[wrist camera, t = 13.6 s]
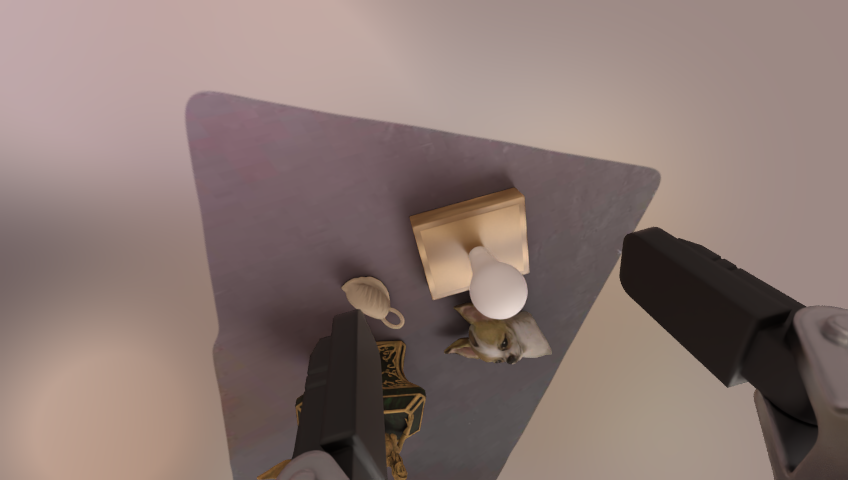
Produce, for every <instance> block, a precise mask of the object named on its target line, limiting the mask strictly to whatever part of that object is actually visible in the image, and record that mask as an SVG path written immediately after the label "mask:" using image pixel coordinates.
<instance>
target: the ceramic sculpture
mask: <svg viewBox="0 0 848 480" xmlns="http://www.w3.org/2000/svg"><path fill="white" fill-rule="evenodd" d="M454 309H455V310H457V311H458V312H459V313H460V315H461V316H462V317H463V318H464V319H465V320H466V321H467V322H468V323H470V324H471V326H470V328H469V338H460V339H458V340H457V341H455V342H454V343H452V344H451V345H450V346H449V347H448V348H447V349H445V351H444V353H445V354H450V353H456V354H459V355H464V356H465V357H468V358H476V359H479V358H480V359H482V360H483V361H485V362H494V363H500V362H507V363H508V364H515V363H517V361H519V360H520V359H521V358H522V357H527V358H530V357H531V358H537V357H540V356H543V355H550V354H552V351H551V348H550V346H549V344H548V342H547V340H546V338H545V337H544V335H543V333H542V332H541V331H540V329H539V327H538V326H537V324H536V322H535V320H534V318H533V317H532V315H531V314H530V313H528V312H526V311H521V312H519V313H518V314H517V315H514V316H512V317H510V318H507V319H492V318H489V317H487V316H485V315H483V314H482V313H480V312H479V311H478V310H477V309H476V307H475V306H474V304H473V303H464V304H461V305H457V306H454Z"/></svg>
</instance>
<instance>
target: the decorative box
mask: <svg viewBox="0 0 848 480" xmlns="http://www.w3.org/2000/svg"><path fill="white" fill-rule="evenodd" d="M376 344H377V347H378V350H379V354H380V360H381V372H382V390H383V408H384V425H385V443H386V461H387V467H388V466H389V467H391V469H392V475H393V477H394V479H395V480H406V479H407V472H406V469H405V467H404V465H403V460H402V458H401V456H400V455H399V453H400V451H401V449H402V446H403V443H404V441H405V439H406V438H408V437H410V436H411V435H413V434H415V433H416V432H418V431H419V430H420V427H421V421H422V416H423V410H424V405H425V399H426V393H425V390H424V389H423V388H421V387H420V386H417V385H415V384H413V383H411V382H409V381H408V380H407V379H406V377H405V375H404V372H403V366H404V357H405V349H406V344H405V343H403V342H402V341H383V342H376ZM303 395H304V394H303ZM303 395H302V396H300V397H299V398H297V400H296V405H295V407H296V415H297V423H298V424H299V419H300V413H301V407H302V401H303ZM397 442H398V444H397ZM289 462H291V459H289V460H285V461H283V462H281V463H279V464H277V465H276V466H274V467H272V468H271V469H270V470H268V471H266V472H265V473H263V474H261V475H260V476H258V477H257V479H270V478H274V479H276V478H277V476H278V475H279V474H280V472H281V471H282V470H283V469H284V467H285V466H286V465H287V464H288V463H289Z"/></svg>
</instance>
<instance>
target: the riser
mask: <svg viewBox="0 0 848 480" xmlns="http://www.w3.org/2000/svg"><path fill="white" fill-rule="evenodd" d="M409 218H410V221H411V225H412V229H413V232H414V236H415V239H416V243H417V246H418V250H419V254H420V257H421V261H422V264H423V268H424V271H425V275H426V278H427V282H428V286H429V289H430V293H431V296H432V300H435V299H439V298H443V297H446V296H450V295H453V294H457V293H460V292H464V291H467V290H470V288H469V287H470V283H471V279H472V276H473V272H472V269H471V262H470V259H469V253H470V251H471V250H472V249H473V248H475V247H478V246H482V247H484V248H486V249H487V250H488V252H489V253H490V254H491V255H493V256H494V257H495V258H496V260H497V261H499V262H503V263H506V264H509V265H511V266H513V267H514V268H516V269H517V270H518V271H519V272H520V273H521V274H522V275H524V274H527V273H529V259H528V244H527V229H526V214H525V198H524V195H523V194H521V193H520V192H519V191H518V190H517V189H516V188H515V187H514V188H510V189H507V190H503V191H499V192H496V193H492V194H489V195H485V196H481V197H478V198H474V199H471V200H467V201H463V202H460V203H456V204H452V205H449V206H445V207H442V208H438V209H434V210H431V211H427V212H424V213H420V214H416V215H413V216H410V217H409Z"/></svg>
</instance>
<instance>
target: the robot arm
mask: <svg viewBox="0 0 848 480" xmlns="http://www.w3.org/2000/svg"><path fill="white" fill-rule="evenodd" d="M620 281H621V284H622V286H623V288H624V290H625V292H626V293H627V294H628V295H629V296H630V297H631V298H632V299H633V300H634V301H635V302H636V303H638V304H639V305H640V306H641V307H642V308H643V309H644V310H645V311H646V312H647V313H648V314H649V315H650V316H652V317H653V318H654V319H655V320H656V321H657V322H658V323H659V324H660V325H661V326H662V327H663V328H664V329H665V330H666V331H667V332H669V333H670V334H671V335H672V336H673V337H674V338H675V339H676V340H677V341H678V342H679V343H680V344H681V345H682V346H683V347H685V348H686V349H687V350H688V351H689V352H690V353H691V354H692V355H693V356H694V357H695V358H696V359H697V360H698V361H700V362H701V363H702V364H703V365H704V366H705V367H706V368H707V369H708V370H709V371H710V372H711V373H712V374H714V375H715V376H716V377H717V378H718V379H719V380H720V381H721V382H722V383H723V384H724V385H725V386H726V387H727V388H728V387H731V386H735V385H738V384H742V383H745V382H749V383H751V384H752V385H753V386H754V387H755V388H756V390H755V392H754V402H755V405H756V409H757V412H758V417H759V421H760V425H761V428H762V432H763V436H764V440H765V443H766V447H767V451H768V455H769V459H770V462H771V466H772V470H773V475H774V480H848V310H847V309H843V308H838V307H832V306H809V307H806V306H804V305H803V304H801V303H799V302H797V301H796V300H794V299H792V298H791V297H789V296H787V295H785V294H784V293H782V292H780V291H779V290H777V289H775V288H773V287H772V286H770V285H768V284H767V283H765V282H763V281H762V280H760V279H758V278H756V277H755V276H753V275H751V274H749V273H748V272H746V271H744V270H743V269H741V268H740V269H738V268H737V267H736V265H734V264H733V263H731V262H729V261H727V260H726V259H721V256H719V255H717V254H715V253H714V252H712V251H710V250H709V249H707V248H705V247H704V246H702V245H699V244H695V243H693V242H690V241H686V240H683V239H680V238H678V239H677V238H675V237H674V236H672V235H670V234H669V233H667V232H665V231H664V230H662V229H660V228H658V227H651V228H647V229H644V230H640V231H637V232H633V233H630V234H627V235H626V236H625V238H624V241H623V249H622V257H621V267H620ZM307 373H308V376H307V378H306V384H305V392H304V395H303V401H302V407H301V413H300V419H299V424H298V430H297V436H296V442H295V448H294V452H293V457H292V459H291V462H289V463H288V464H287V465H286V466H285V467H284V469H283V470H282V471H281V472H280V474H279V475H278V476H277V478H276V480H388V479H387V461H386V443H385V425H384V408H383V390H382V372H381V360H380V354H379V350H378V347H377V344H376V341H375V339H374V337H373V335H372V332H371V330H370V328H369V326H368V323H367V321H366V319H365V317H364V314H363V312H362V311H361V309H357V310H353V311H350V312H346V313H343V314H339V315H336V316H334V318H333V324H332V333H331V336H328V337H325V338H321V339H320V340H319V341H318V343H317V345H316V347H315V348H314V350H313V352H312V354H311V355H310V360H309V366H308V372H307Z"/></svg>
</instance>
